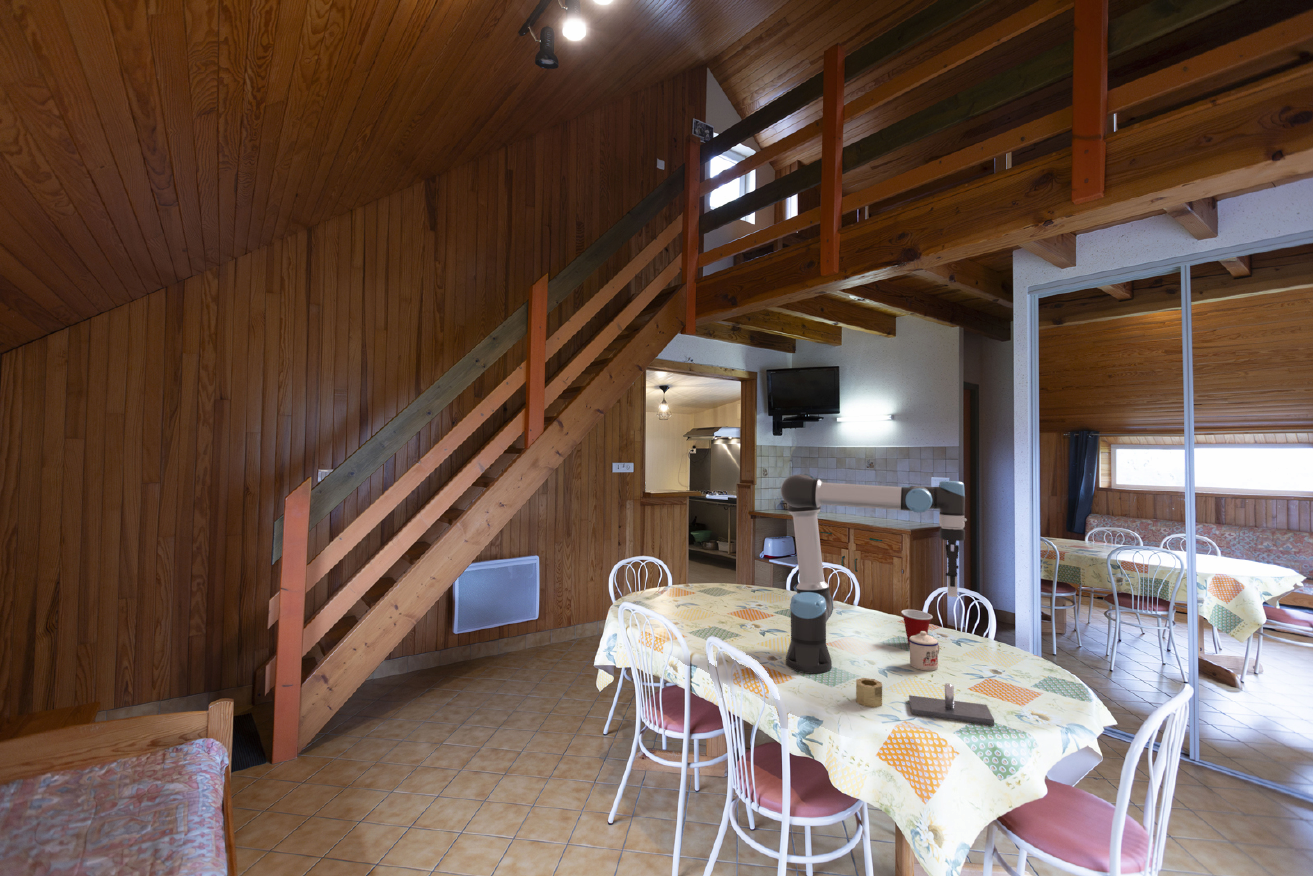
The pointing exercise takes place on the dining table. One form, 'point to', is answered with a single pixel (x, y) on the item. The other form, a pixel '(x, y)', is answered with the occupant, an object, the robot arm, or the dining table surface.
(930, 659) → the teacup with lid
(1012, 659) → the dining table surface
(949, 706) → the shaft stand
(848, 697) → the dining table surface
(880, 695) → the ring
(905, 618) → the plastic cup
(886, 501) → the robot arm
